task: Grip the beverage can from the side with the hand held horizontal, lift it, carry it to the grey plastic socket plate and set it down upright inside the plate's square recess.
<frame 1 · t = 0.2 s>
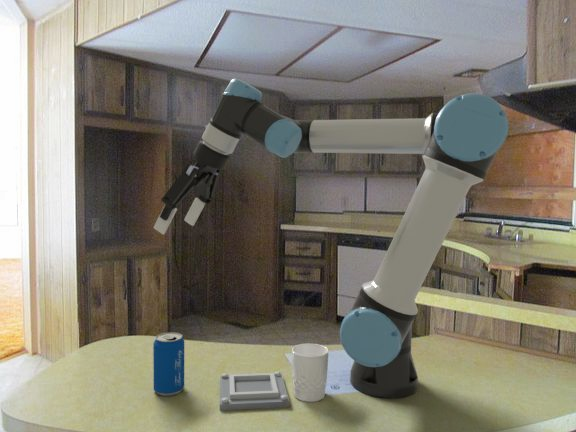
hand: (174, 226, 110), 35 cm above the countertop, fingers open, 13 cm apart
beverage can: (169, 391, 102), on the countertop
socket plate: (252, 393, 102), on the countertop
white cup: (309, 395, 101), on the countertop
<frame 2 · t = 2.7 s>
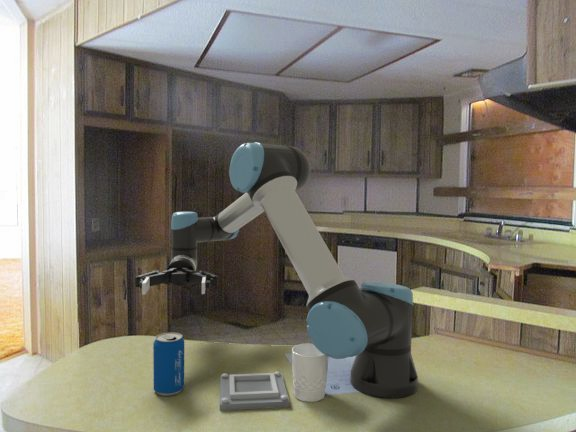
hand: (173, 288, 110), 20 cm above the countertop, fingers open, 13 cm apart
nothing on the countertop moved.
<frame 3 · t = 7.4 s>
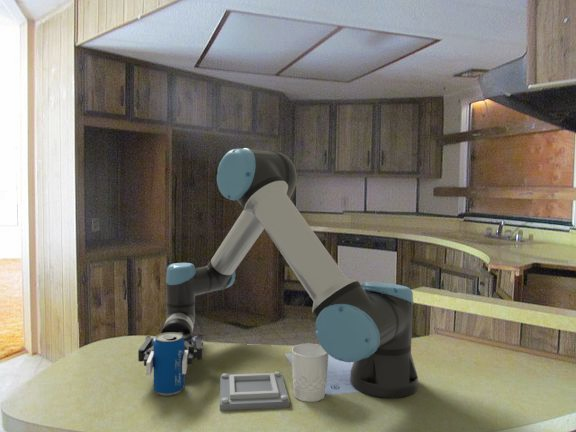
hand: (166, 368, 97), 7 cm above the countertop, fingers closed on beverage can, 6 cm apart
beverage can: (169, 391, 102), on the countertop, touching gripper
everything else where it was.
when the fingers open (9 cm above the countertop, at t = 12.4 s): beverage can stays where it is, resting on socket plate.
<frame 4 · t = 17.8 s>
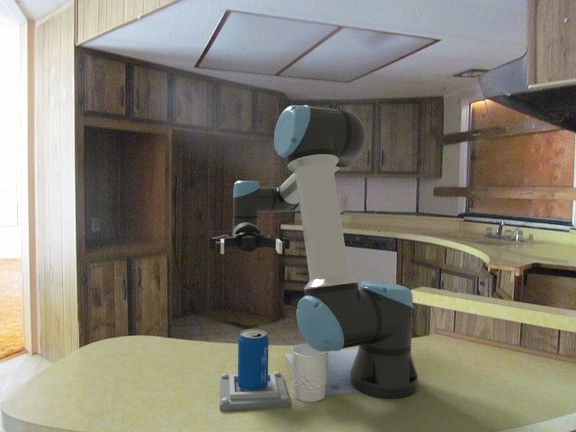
hand: (251, 248, 110), 30 cm above the countertop, fingers open, 13 cm apart
beverage can: (252, 388, 102), point 1 cm above the countertop, touching socket plate
everything else where it was.
at the end: beverage can inside the target area on the socket plate (0.1 cm from its centre), point 1.0 cm above the socket plate's base; beverage can tilted 0°; the gripper is holding nothing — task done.
